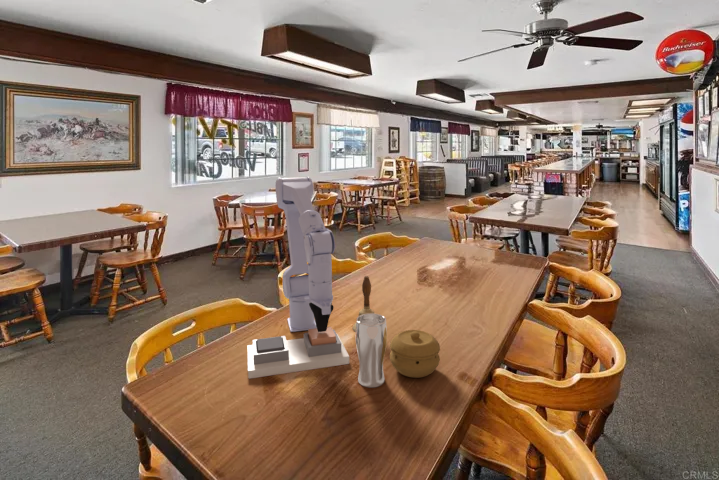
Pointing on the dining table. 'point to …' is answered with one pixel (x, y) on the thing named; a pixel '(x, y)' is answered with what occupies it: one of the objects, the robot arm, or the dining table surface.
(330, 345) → the button panel
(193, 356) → the dining table surface
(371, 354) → the beer glass
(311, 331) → the terracotta key
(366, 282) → the hand bell
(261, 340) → the charcoal key
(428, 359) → the pot
